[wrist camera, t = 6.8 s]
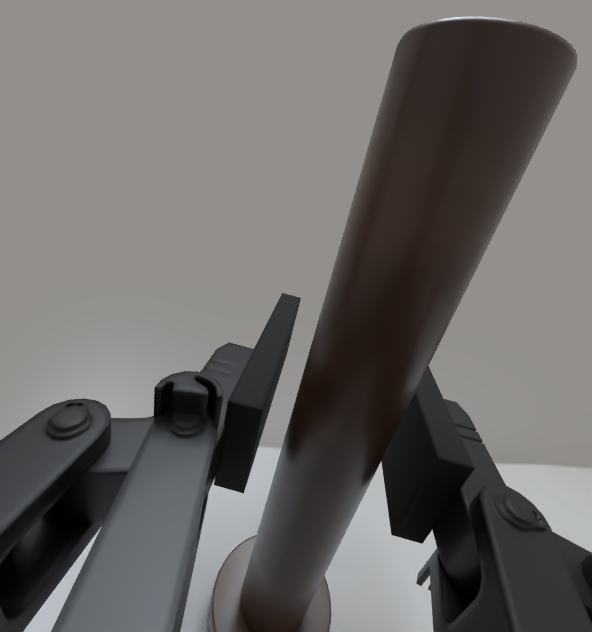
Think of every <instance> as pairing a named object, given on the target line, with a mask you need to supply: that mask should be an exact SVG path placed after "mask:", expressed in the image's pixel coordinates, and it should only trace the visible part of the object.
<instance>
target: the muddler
mask: <svg viewBox="0 0 592 632" xmlns="http://www.w3.org/2000/svg"><path fill="white" fill-rule="evenodd" d="M576 66H577V54H576V51H575V49H574V48H573V47H572V45H571V44H570V43H568V42H567V41H566V40H565V39H563V38H562V37H560V36H559V35H557V34H555V33H552V32H551V31H548V30H546V29H543V28H540V27H538V26H535V25H531V24H527V23H523V22H520V21H515V20H510V19H503V18H495V17H454V18H445V19H439V20H435V21H430V22H427V23H424V24H421V25H419V26H417V27H414V28H412V29H411V30H409V31H408V32H407V33H406V34H405V35H404V36H403V37H402V39H401V40H400V42H399V44H398V45H397V49H396V52H395V56H394V59H393V63H392V66H391V70H390V73H389V77H388V80H387V83H386V87H385V90H384V94H383V98H382V101H381V104H380V108H379V112H378V115H377V118H376V122H375V125H374V129H373V132H372V136H371V139H370V143H369V146H368V150H367V154H366V157H365V160H364V164H363V167H362V171H361V174H360V178H359V181H358V185H357V188H356V192H355V195H354V199H353V202H352V206H351V209H350V212H349V216H348V219H347V223H346V226H345V230H344V233H343V237H342V240H341V244H340V247H339V251H338V254H337V258H336V261H335V265H334V268H333V272H332V275H331V279H330V282H329V286H328V289H327V293H326V296H325V300H324V303H323V307H322V310H321V314H320V317H319V321H318V324H317V328H316V331H315V335H314V338H313V341H312V345H311V348H310V352H309V356H308V359H307V362H306V366H305V370H304V373H303V376H302V380H301V383H300V387H299V390H298V394H297V397H296V401H295V404H294V408H293V411H292V415H291V418H290V422H289V425H288V429H287V432H286V436H285V439H284V443H283V446H282V450H281V453H280V456H279V460H278V463H277V467H276V470H275V474H274V477H273V481H272V484H271V488H270V491H269V495H268V498H267V502H266V505H265V509H264V512H263V516H262V519H261V523H260V526H259V530H258V533H257V535H256V536H253V537H251V538H249V539H247V540H245V541H244V542H242V543H241V544H239V545H238V546H237V547H236V548H235V549H234V550H233V551H232V552H231V553H230V554H229V556H228V557H227V558H226V560H225V562H224V563H223V565H222V567H221V569H220V571H219V573H218V576H217V578H216V581H215V585H214V589H213V594H212V598H211V603H210V608H209V615H208V632H329V629H330V623H331V601H330V594H329V589H328V585H327V582H326V579H325V576H324V575H325V573H326V571H327V569H328V567H329V565H330V563H331V561H332V558H333V556H334V554H335V552H336V550H337V548H338V546H339V544H340V542H341V540H342V538H343V536H344V534H345V532H346V530H347V528H348V526H349V524H350V522H351V520H352V518H353V516H354V514H355V512H356V510H357V508H358V506H359V504H360V502H361V500H362V498H363V496H364V494H365V492H366V490H367V488H368V486H369V484H370V482H371V480H372V478H373V476H374V474H375V472H376V470H377V468H378V466H379V464H380V462H381V460H382V458H383V456H384V454H385V452H386V450H387V448H388V446H389V444H390V442H391V440H392V438H393V436H394V434H395V432H396V430H397V428H398V426H399V424H400V422H401V420H402V418H403V416H404V414H405V412H406V410H407V408H408V406H409V404H410V402H411V400H412V398H413V396H414V394H415V392H416V390H417V388H418V386H419V384H420V381H421V379H422V377H423V375H424V373H425V371H426V369H427V367H428V365H429V363H430V361H431V359H432V357H433V355H434V353H435V351H436V349H437V347H438V345H439V343H440V341H441V339H442V337H443V335H444V333H445V331H446V329H447V327H448V325H449V323H450V321H451V319H452V317H453V315H454V313H455V311H456V309H457V307H458V305H459V303H460V301H461V299H462V297H463V295H464V293H465V291H466V289H467V287H468V285H469V283H470V281H471V279H472V277H473V275H474V273H475V271H476V269H477V267H478V265H479V263H480V261H481V259H482V257H483V255H484V253H485V251H486V249H487V247H488V245H489V243H490V241H491V239H492V237H493V234H494V233H495V231H496V229H497V226H498V224H499V223H500V221H501V219H502V217H503V214H504V212H505V211H506V209H507V206H508V205H509V202H510V200H511V198H512V196H513V194H514V192H515V190H516V188H517V186H518V184H519V182H520V180H521V178H522V176H523V174H524V172H525V170H526V168H527V166H528V164H529V162H530V160H531V158H532V156H533V154H534V152H535V150H536V148H537V146H538V144H539V142H540V140H541V138H542V136H543V134H544V132H545V130H546V128H547V126H548V124H549V122H550V120H551V118H552V116H553V114H554V112H555V110H556V108H557V106H558V104H559V102H560V100H561V98H562V96H563V94H564V92H565V90H566V88H567V86H568V84H569V82H570V80H571V78H572V76H573V74H574V72H575V69H576Z"/></svg>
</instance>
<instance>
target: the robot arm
mask: <svg viewBox="0 0 592 632" xmlns="http://www.w3.org/2000/svg"><path fill="white" fill-rule="evenodd" d="M300 299H301V298H299V297H295V296H291V295H287V294H284V293H282V295H281V297H280V299H279V301H278V303H277V305H276V307H275V309H274V311H273V313H272V315H271V317H270V319H269V321H268V323H267V325H266V327H265V328H264V331H263V332H262V334H261V336H260V338H259V340H258V342H257V344H256V346H255V348H254V349H251V348H247V347H243V346H240V345H236V344H232V343H228V344H225V345H224V346H222V347H220V348H218V349H217V350H216V351H215V352H214V354H213V355H212V357H211V358H210V360H209V361H208V362H207V363H206V365H205V366H204V369H202V370H201V372H190V371H184V372H180V373H175V374H171V375H170V376H168V377H166V378H164V379H162V380H161V381H160V382H159V383H158V384H157V386H156V387H155V395H154V396H155V397H154V416H152V417H148V418H111V414H110V412H109V410H108V408H107V407H106V406H105V405H103V404H102V403H100V402H98V401H96V400H89V399H74V400H67V401H64V402H61V403H57V404H54V405H52V406H50V407H48V408H46V409H45V410H43V411H41V412H39V413H38V414H36V415H35V416H34V417H32V418H31V419H29V420H28V421H27V422H25V423H24V424H23V425H21V426H20V427H18V428H17V429H16V430H14V431H13V432H12V433H10V434H9V435H7V436H6V437H5V438H3V439H2V440H1V441H0V632H23V631H24V629H25V628H26V627H27V625H28V624H29V623H30V621H31V620H32V619H33V617H34V616H35V615H36V613H37V612H38V611H39V609H40V608H41V607H42V605H43V604H44V603H45V601H46V600H47V599H48V597H49V596H50V595H51V593H52V592H53V590H54V589H55V588H56V586H57V585H58V584H59V582H60V581H61V580H62V578H63V577H64V576H65V574H66V573H67V572H68V570H69V569H70V568H71V566H72V565H73V564H74V562H75V561H76V560H77V558H78V557H79V556H80V554H81V553H82V552H83V550H84V549H85V547H86V546H87V545H88V543H89V542H90V541H91V539H92V538H93V537H94V535H95V534H96V533H97V531H98V530H99V529H100V527H101V526H102V527H101V529H100V531H99V533H98V535H97V538H96V540H95V542H94V544H93V546H92V548H91V550H90V552H89V554H88V556H87V558H86V560H85V562H84V564H83V567H82V569H81V571H80V573H79V575H78V577H77V579H76V581H75V583H74V585H73V587H72V589H71V591H70V594H69V596H68V598H67V600H66V602H65V604H64V606H63V608H62V610H61V612H60V614H59V616H58V618H57V621H56V623H55V625H54V627H53V629H52V631H51V632H180V630H181V625H182V620H183V615H184V610H185V606H186V601H187V596H188V591H189V587H190V582H191V577H192V572H193V567H194V563H195V558H196V553H197V548H198V543H199V539H200V534H201V529H202V524H203V519H204V515H205V510H206V505H207V499H208V493H209V490H210V487H211V485H212V483H213V480H214V478H215V482H214V485H216V486H220V487H223V488H227V489H230V490H234V491H238V492H241V493H244V490H245V487H246V484H247V481H248V477H249V474H250V471H251V468H252V465H253V461H254V458H255V455H256V452H257V448H258V445H259V442H260V439H261V435H262V432H263V429H264V426H265V422H266V419H267V416H268V413H269V410H270V406H271V403H272V400H273V396H274V393H275V390H276V387H277V384H278V381H279V377H280V374H281V370H282V368H283V365H284V361H285V358H286V355H287V351H288V347H289V343H290V339H291V335H292V331H293V326H294V322H295V319H296V315H297V311H298V307H299V303H300ZM381 461H382V468H383V476H384V483H385V490H386V497H387V505H388V512H389V519H390V526H391V534H392V535H394V536H397V537H401V538H404V539H408V540H412V541H415V542H419V543H423V542H424V540H425V539H426V537H427V536H428V535H429V533H430V532H431V530H432V529H433V533H434V537H435V541H436V545H437V549H436V550H435V552H434V553H433V554H432V556H431V557H430V558H429V560H428V561H427V563H426V564H425V565H424V567H423V568H422V569H421V571H420V572H419V573H418V577H417V583H416V584H418V585H420V586H422V584H423V583H424V582H425V581H426V579H427V578H428V577H429V575H430V582H431V583H430V585H429V587H428V590H430V591H431V598H432V614H433V630H434V632H592V552H589V551H587V550H585V549H583V548H582V547H580V546H578V545H576V544H574V543H572V542H570V541H569V540H567V539H565V538H563V537H561V536H559V535H557V534H556V533H554V532H552V530H551V528H550V526H549V524H548V523H547V521H546V519H545V518H544V516H543V515H542V514H541V512H540V511H539V510H538V509H537V508H536V507H535V506H534V505H533V504H532V503H531V502H530V501H529V500H527V499H526V498H525V497H524V496H522V495H521V494H520V493H519V492H517V491H515V490H513V489H511V488H509V487H507V486H506V485H505V483H504V481H503V479H502V477H501V475H500V474H499V472H498V470H497V468H496V466H495V464H494V462H493V461H492V458H491V457H490V455H489V453H488V451H487V449H486V447H485V445H484V444H482V440H481V438H480V436H479V434H478V432H476V428H475V426H474V424H473V423H472V421H471V419H470V417H469V415H468V414H467V413H466V412H465V411H464V410H463V409H462V408H461V407H460V406H459V405H458V404H457V403H456V402H453V401H449V400H446V399H443V397H442V395H441V393H440V390H439V388H438V386H437V384H436V382H435V379H434V377H433V375H432V373H431V371H430V368H429V366H428V367H427V369H426V371H425V373H424V375H423V377H422V379H421V381H420V384H419V386H418V388H417V390H416V392H415V394H414V396H413V398H412V400H411V402H410V404H409V406H408V408H407V410H406V412H405V414H404V416H403V418H402V420H401V422H400V424H399V426H398V428H397V430H396V432H395V434H394V436H393V438H392V440H391V442H390V444H389V446H388V448H387V450H386V452H385V454H384V456H383V458H382V460H381Z"/></svg>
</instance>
